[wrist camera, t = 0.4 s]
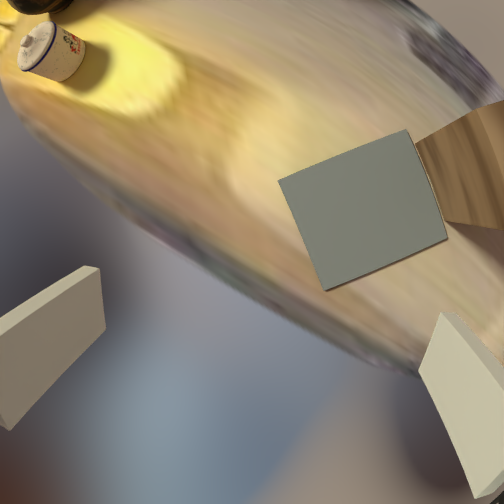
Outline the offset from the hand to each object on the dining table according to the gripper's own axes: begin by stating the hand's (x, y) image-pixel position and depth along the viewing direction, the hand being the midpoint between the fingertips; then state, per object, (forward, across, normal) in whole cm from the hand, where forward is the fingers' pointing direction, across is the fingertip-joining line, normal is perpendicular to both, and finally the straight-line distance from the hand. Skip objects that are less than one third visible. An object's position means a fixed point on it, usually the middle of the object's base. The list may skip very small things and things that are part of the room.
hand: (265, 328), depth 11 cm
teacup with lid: (+33, -40, +24) cm, 57 cm away
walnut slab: (+26, +20, +8) cm, 34 cm away
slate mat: (+26, +10, +2) cm, 28 cm away
